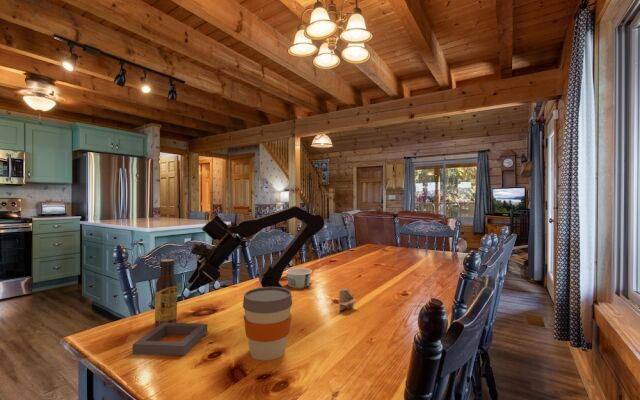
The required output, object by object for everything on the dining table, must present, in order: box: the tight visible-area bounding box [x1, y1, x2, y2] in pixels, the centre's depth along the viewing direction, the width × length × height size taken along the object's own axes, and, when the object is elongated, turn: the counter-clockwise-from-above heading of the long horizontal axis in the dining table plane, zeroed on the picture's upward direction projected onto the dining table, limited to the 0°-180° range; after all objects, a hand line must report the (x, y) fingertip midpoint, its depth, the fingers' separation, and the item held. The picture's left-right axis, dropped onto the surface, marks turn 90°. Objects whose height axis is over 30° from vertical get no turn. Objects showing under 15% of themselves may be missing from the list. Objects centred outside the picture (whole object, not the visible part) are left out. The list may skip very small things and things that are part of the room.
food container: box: [284, 267, 313, 289], centre depth 140 cm, size 12×12×6 cm
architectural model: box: [337, 287, 357, 312], centre depth 110 cm, size 3×7×7 cm, turn 139°
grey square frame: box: [132, 322, 208, 357], centre depth 85 cm, size 14×14×2 cm
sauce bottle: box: [154, 258, 178, 327], centre depth 98 cm, size 7×6×20 cm
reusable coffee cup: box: [242, 286, 293, 362], centre depth 80 cm, size 13×12×15 cm
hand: (189, 286), depth 100 cm, fingers open, 9 cm apart
